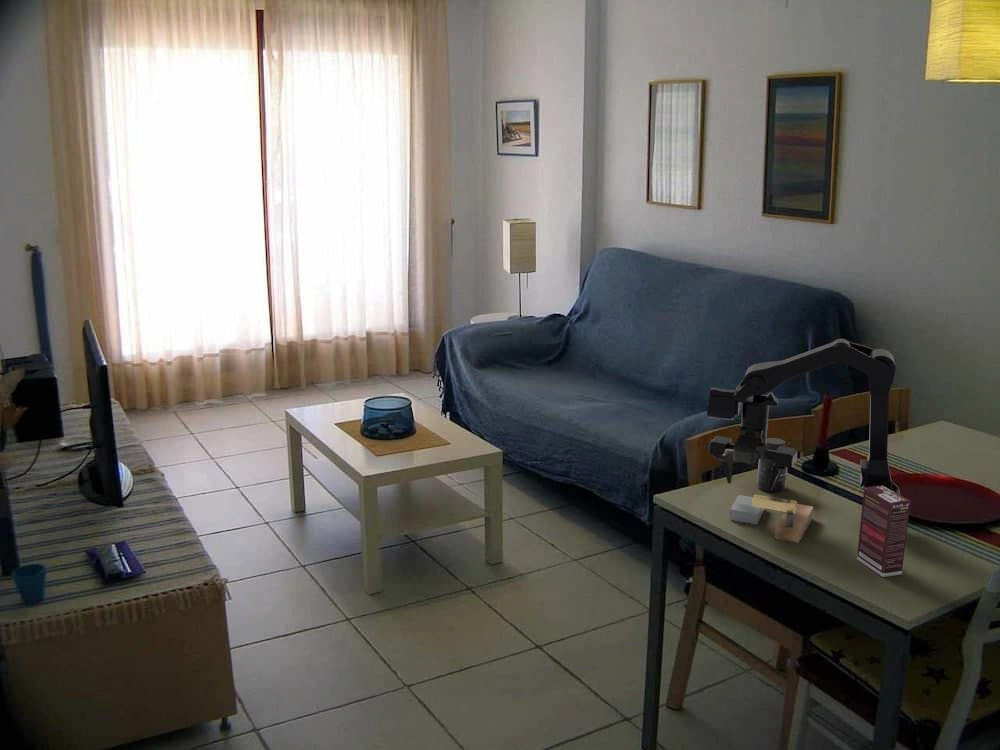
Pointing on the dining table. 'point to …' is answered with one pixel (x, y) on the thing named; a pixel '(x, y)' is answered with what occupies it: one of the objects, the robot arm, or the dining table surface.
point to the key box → (794, 524)
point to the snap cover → (745, 510)
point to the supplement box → (883, 530)
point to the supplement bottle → (766, 469)
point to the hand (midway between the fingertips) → (749, 486)
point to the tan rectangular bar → (774, 503)
